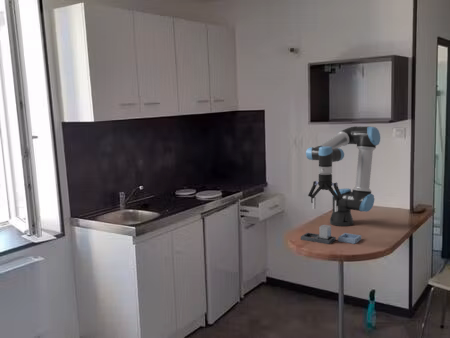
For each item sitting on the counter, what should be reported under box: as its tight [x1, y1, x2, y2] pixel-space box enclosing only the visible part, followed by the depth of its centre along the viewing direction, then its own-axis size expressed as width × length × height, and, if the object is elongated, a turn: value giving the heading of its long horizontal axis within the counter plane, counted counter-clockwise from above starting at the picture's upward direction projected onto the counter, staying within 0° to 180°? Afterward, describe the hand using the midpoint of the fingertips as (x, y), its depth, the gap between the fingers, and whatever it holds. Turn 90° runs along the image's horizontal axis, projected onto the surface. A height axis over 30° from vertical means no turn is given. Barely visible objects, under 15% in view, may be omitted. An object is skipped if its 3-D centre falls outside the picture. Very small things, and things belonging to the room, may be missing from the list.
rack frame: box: [300, 232, 337, 245], centre depth 266 cm, size 9×18×2 cm, turn 53°
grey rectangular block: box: [318, 224, 332, 240], centre depth 263 cm, size 5×5×9 cm
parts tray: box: [337, 232, 362, 245], centre depth 263 cm, size 10×10×2 cm
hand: (325, 210), depth 261 cm, fingers open, 13 cm apart
